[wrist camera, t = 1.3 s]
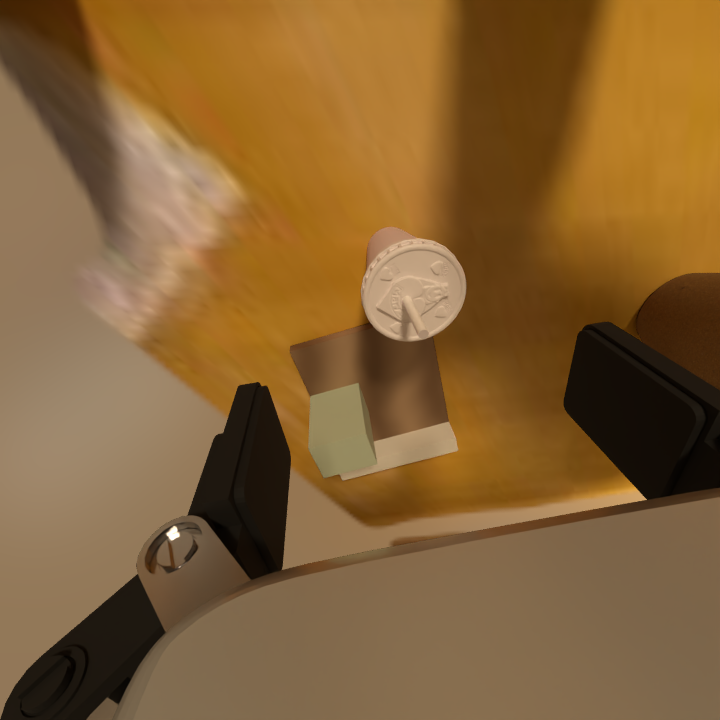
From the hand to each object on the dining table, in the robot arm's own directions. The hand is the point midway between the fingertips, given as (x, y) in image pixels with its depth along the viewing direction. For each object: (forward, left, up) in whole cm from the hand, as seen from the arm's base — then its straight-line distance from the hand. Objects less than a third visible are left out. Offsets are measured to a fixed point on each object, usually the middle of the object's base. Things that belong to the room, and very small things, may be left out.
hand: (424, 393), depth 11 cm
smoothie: (-2, +2, -21) cm, 21 cm away
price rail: (+3, +23, -21) cm, 32 cm away
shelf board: (+3, +16, -21) cm, 27 cm away
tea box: (+7, +16, -20) cm, 26 cm away
